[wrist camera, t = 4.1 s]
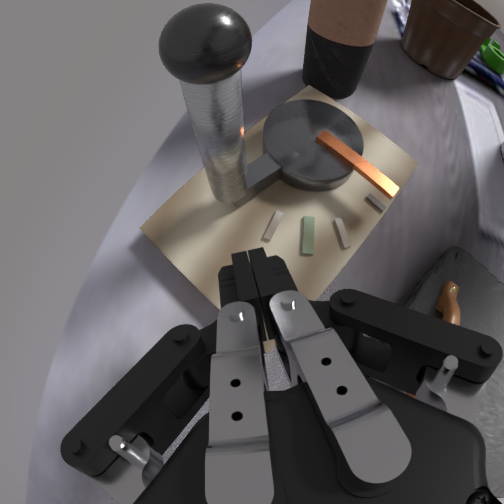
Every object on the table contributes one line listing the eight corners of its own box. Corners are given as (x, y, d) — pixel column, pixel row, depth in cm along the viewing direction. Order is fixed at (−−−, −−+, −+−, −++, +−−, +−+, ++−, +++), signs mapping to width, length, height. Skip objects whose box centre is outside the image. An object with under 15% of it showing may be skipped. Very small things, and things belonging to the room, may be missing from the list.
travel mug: (322, 106, 30) (358, -46, 10) (288, 70, 32) (301, -65, 12) (368, 93, 31) (415, -33, 11) (334, 60, 32) (360, -57, 13)
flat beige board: (410, 172, 27) (419, 162, 25) (266, 352, 23) (267, 354, 21) (306, 96, 30) (309, 83, 28) (147, 235, 26) (138, 226, 23)
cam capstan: (402, 178, 25) (499, 50, 8) (308, 299, 22) (445, 203, 5) (301, 103, 27) (325, -44, 10) (192, 195, 24) (120, 17, 8)
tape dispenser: (504, 79, 36) (512, 68, 32) (483, 62, 37) (491, 50, 33) (494, 55, 40) (500, 45, 35) (475, 41, 41) (481, 30, 36)
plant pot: (373, 29, 36) (392, -38, 21) (430, 38, 37) (454, -15, 22) (425, 85, 32) (465, 10, 16) (478, 90, 33) (515, 36, 17)
